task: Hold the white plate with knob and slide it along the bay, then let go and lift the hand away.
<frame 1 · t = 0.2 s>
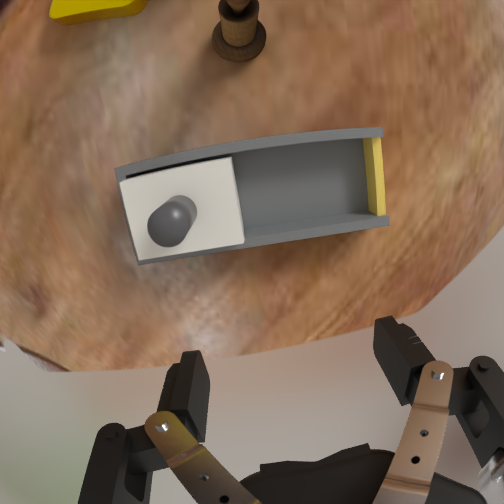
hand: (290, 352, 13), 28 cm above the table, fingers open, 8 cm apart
bay: (255, 187, 38), on the table
white plate with knob: (181, 211, 31), point 8 cm above the table, slide at 0.0 cm
brown wooden tall piece: (239, 41, 32), on the table
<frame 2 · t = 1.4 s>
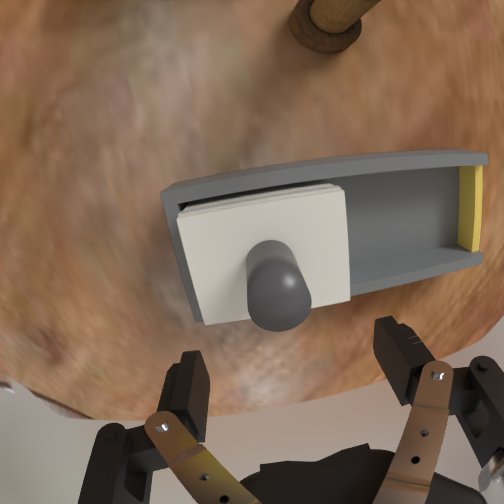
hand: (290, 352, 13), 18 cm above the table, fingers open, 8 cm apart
bay: (343, 217, 30), on the table
white plate with knob: (269, 260, 23), point 8 cm above the table, slide at 0.0 cm
brown wooden tall piece: (322, 26, 23), on the table
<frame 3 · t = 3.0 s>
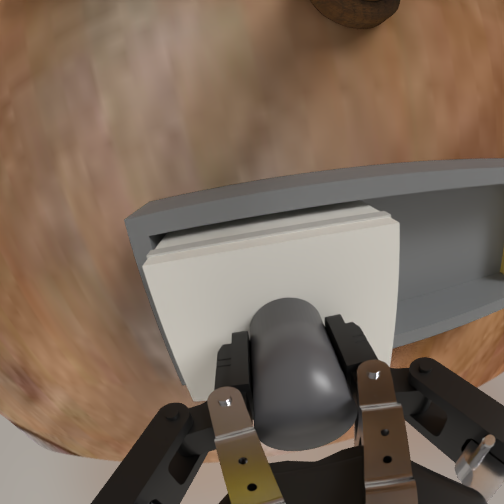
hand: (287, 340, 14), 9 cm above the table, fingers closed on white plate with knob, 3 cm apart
bay: (375, 245, 22), on the table
white plate with knob: (284, 323, 15), point 8 cm above the table, slide at 0.0 cm, touching gripper
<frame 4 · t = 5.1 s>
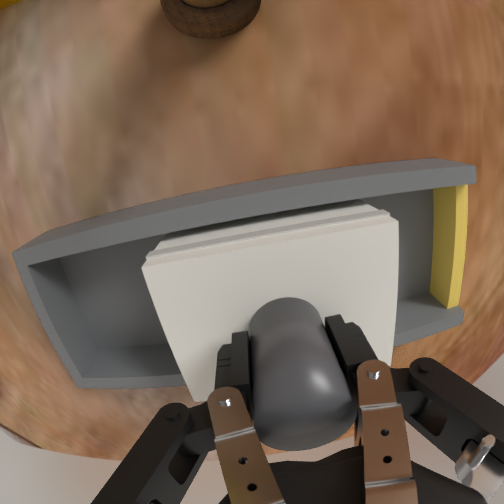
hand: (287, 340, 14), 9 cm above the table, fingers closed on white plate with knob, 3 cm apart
bay: (250, 267, 22), on the table
white plate with knob: (284, 323, 15), point 8 cm above the table, slide at 9.9 cm, touching gripper
brown wooden tall piece: (213, 3, 16), on the table
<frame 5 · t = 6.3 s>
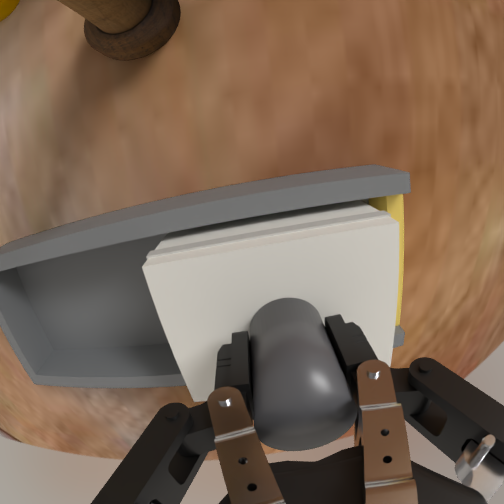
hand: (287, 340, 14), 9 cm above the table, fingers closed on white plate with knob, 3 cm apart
bay: (175, 280, 23), on the table
white plate with knob: (284, 323, 15), point 8 cm above the table, slide at 15.6 cm, touching gripper
brown wooden tall piece: (137, 23, 16), on the table
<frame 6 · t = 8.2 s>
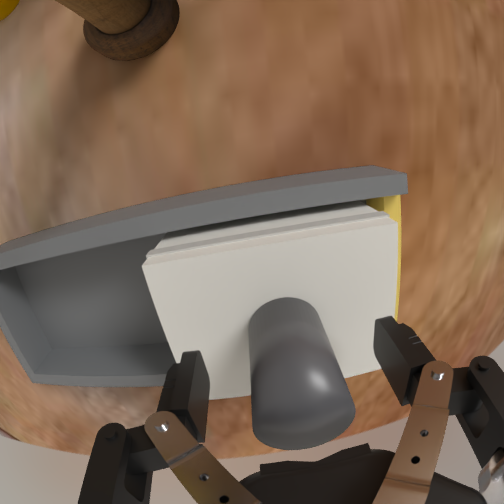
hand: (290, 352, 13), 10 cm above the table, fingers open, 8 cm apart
bay: (173, 280, 23), on the table
white plate with knob: (283, 323, 15), point 8 cm above the table, slide at 15.8 cm
brown wooden tall piece: (136, 23, 16), on the table
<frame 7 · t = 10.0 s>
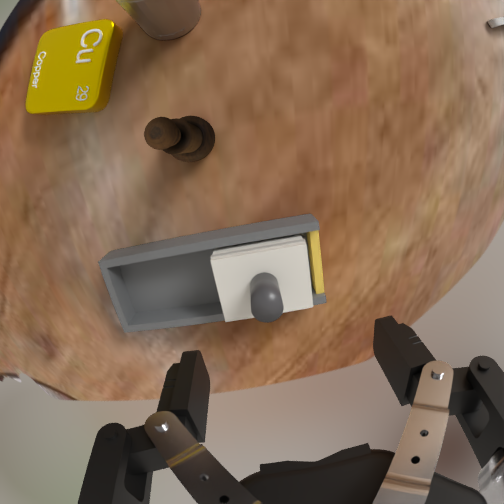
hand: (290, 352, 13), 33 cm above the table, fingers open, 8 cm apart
bay: (213, 270, 47), on the table
white plate with knob: (263, 283, 39), point 8 cm above the table, slide at 15.8 cm
element tile: (78, 70, 36), on the table
brown wooden tall piece: (192, 139, 41), on the table
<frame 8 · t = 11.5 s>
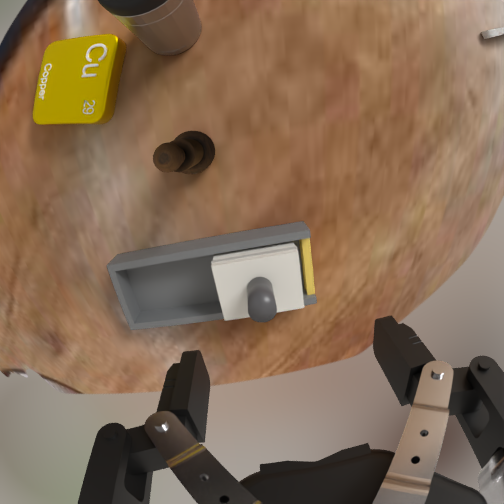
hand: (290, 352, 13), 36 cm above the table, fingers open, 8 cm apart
bay: (212, 272, 51), on the table
white plate with knob: (259, 286, 43), point 8 cm above the table, slide at 15.8 cm
element tile: (83, 82, 39), on the table
brown wooden tall piece: (193, 152, 44), on the table
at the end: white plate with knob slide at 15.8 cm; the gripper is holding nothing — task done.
